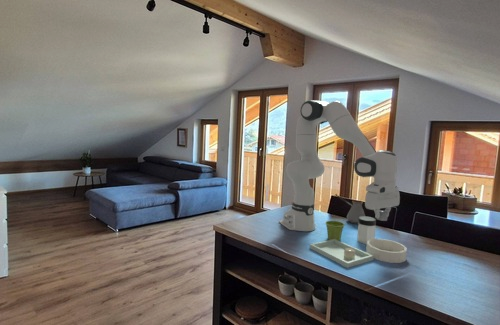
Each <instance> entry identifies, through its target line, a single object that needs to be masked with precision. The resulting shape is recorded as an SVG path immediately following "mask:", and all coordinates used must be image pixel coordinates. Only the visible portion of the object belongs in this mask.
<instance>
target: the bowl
mask: <svg viewBox="0 0 500 325" xmlns="http://www.w3.org/2000/svg"><path fill="white" fill-rule="evenodd" d="M365 249H366V250H365V252H366V253H368V254H371V255H373V259H375V260H378V261H380V262H384V263H391V264H392V263H393V264H401V263H403V262H406V261H407V249H408V248H407V247H406V246H405V245H404V244H402V243H400V242H397V241H395V240H391V239H385V238H375V239H371V240H368V241H367V245H366V247H365Z"/></svg>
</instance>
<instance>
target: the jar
mask: <svg viewBox="0 0 500 325" xmlns="http://www.w3.org/2000/svg"><path fill="white" fill-rule="evenodd" d="M358 221H359V222H358V224H357V237H356V239H357V242H358V243H360V244H364V245H366V246H367V241H368V240H371V239H376V229H377V226H376V225H377V218H375V217H371V216H366V215H365V216H361V217H359V219H358Z"/></svg>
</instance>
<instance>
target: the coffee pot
mask: <svg viewBox="0 0 500 325" xmlns="http://www.w3.org/2000/svg"><path fill="white" fill-rule="evenodd" d="M333 197H337V198H339V199H340V200H341V201H343V202H345V203H346V204H348V205H349V206H351V207H350V209H349V211H348V212H347V215H346V218H347V220H348V221H349V223H352V224H356V225H358V222H359V221H358V219H359V217H361V216H366V214H365V210H364V209H363V204H364V202H363V201H361V200H352V201H351V202H352V203H350V202H349V201H347V200H346V199H345V198H343V197H341V196H340V195H337V194H335V195H334V196H333Z"/></svg>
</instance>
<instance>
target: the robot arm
mask: <svg viewBox="0 0 500 325" xmlns="http://www.w3.org/2000/svg"><path fill="white" fill-rule="evenodd" d="M325 123H328V124H329V126H330V128H331V129H332V131H333V132H334V134H335V135H336V136H337V137H338V138H339V139H341V140H344V141H347V142H349V143H351V144H353V145H354V146H355V147H356V148H357V149H358V151H359V153H360V154H361V156H362V157H359V158H357V159H356V160H355V161H354V164H353V168H354V170H353V171H354V172H355V174H356V175H357V176H359V177H361V178H371V177H373V182H371V183H370V184H368V185H366V186H365V191H366V193H365V201H364V207H365V208H366V209H367V210H371V211H374V215H375V217H374V218H375V219H377V218H380V217H381V214H380V213H379V211H380V210H381V209H384V211H387V212H388V216H387V217H389V216H390V212H391V209H392V207H398V206H399V205H400V200H401V196H400V191H399V187H398V186H397V185H396V184H397V183H396V182H397V181H396V180H397V179H396V174H397V170H398V159H397V154H395V152H393V151H389V150H385V149H381V150H377V151H376V149H375V148H374V146H373V145H372V144H371V142H370V141H369V139H368V138H367V136H366V134H364V133H363V131H362V129H361V128H360V127H359V125H358V124H357V123H356V121H355V119H354V118H353V116H352V114H351V113H350V111H349V109H348V108H347V107H346V106H345V105H344V104H343V103H342V102H341V101H339V100H334V101H332V102H330V101H329V102H328V101H323V100H314V99H312V100H306V101H304V102H303V103H302V105H301V107H300V116H299V117H298V118H297V122H296V128H295V149H296V151H297V152H298V153H299V154H300V157H301V159H296V160H293V161H290V162H288V163H287V165H286V168H285V174H286V176H287V178H289V180H291V182H292V183H291V184H292V186H293V193H294V194H293V202H292V203H290V205H291V208H289V209H288V210H287V211H285V212H284V214H283V218H282V219H280V220H279V221H278V223H279V224H281V225H282V226H284V227H285V228H287V229H288V230H290V231H297V232H298V231H299V232H312V231H315V230H316V223H315V212H314V211H315V203H314V202H315V190H314V188H313V187H312V186H311V185H310V179H311V180H313V179H317V178H319V177H321V176H323V175H324V172H325V164H324V163H323V162H322V160H320V158H319V155H318V152H317V126H318V124H320V125H322V124H325Z"/></svg>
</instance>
